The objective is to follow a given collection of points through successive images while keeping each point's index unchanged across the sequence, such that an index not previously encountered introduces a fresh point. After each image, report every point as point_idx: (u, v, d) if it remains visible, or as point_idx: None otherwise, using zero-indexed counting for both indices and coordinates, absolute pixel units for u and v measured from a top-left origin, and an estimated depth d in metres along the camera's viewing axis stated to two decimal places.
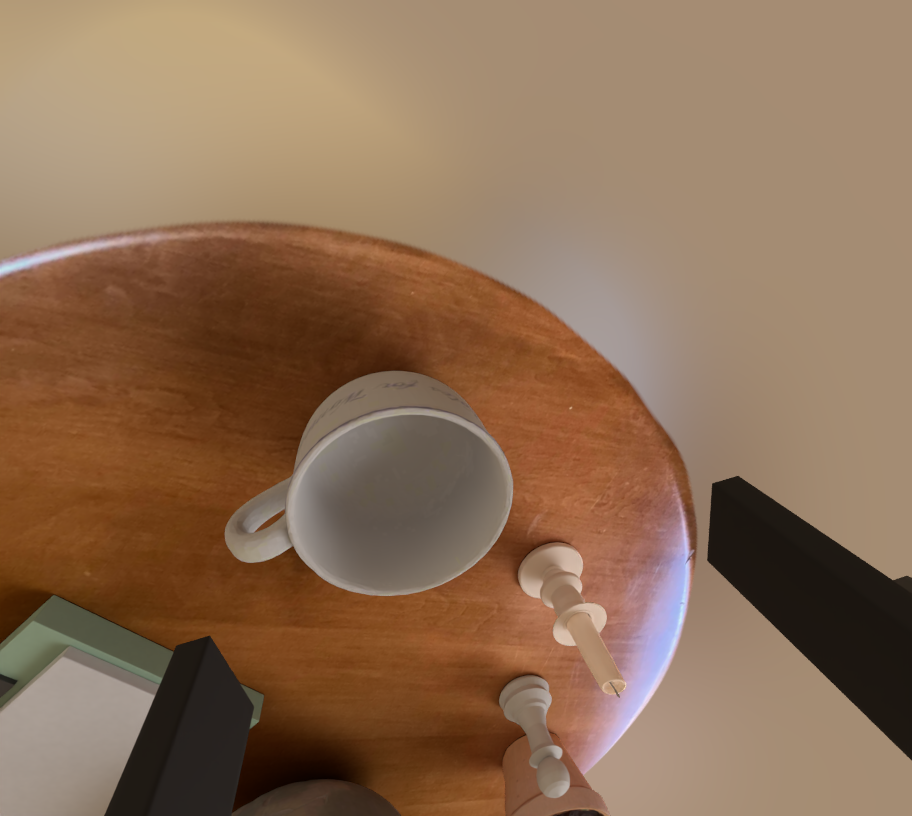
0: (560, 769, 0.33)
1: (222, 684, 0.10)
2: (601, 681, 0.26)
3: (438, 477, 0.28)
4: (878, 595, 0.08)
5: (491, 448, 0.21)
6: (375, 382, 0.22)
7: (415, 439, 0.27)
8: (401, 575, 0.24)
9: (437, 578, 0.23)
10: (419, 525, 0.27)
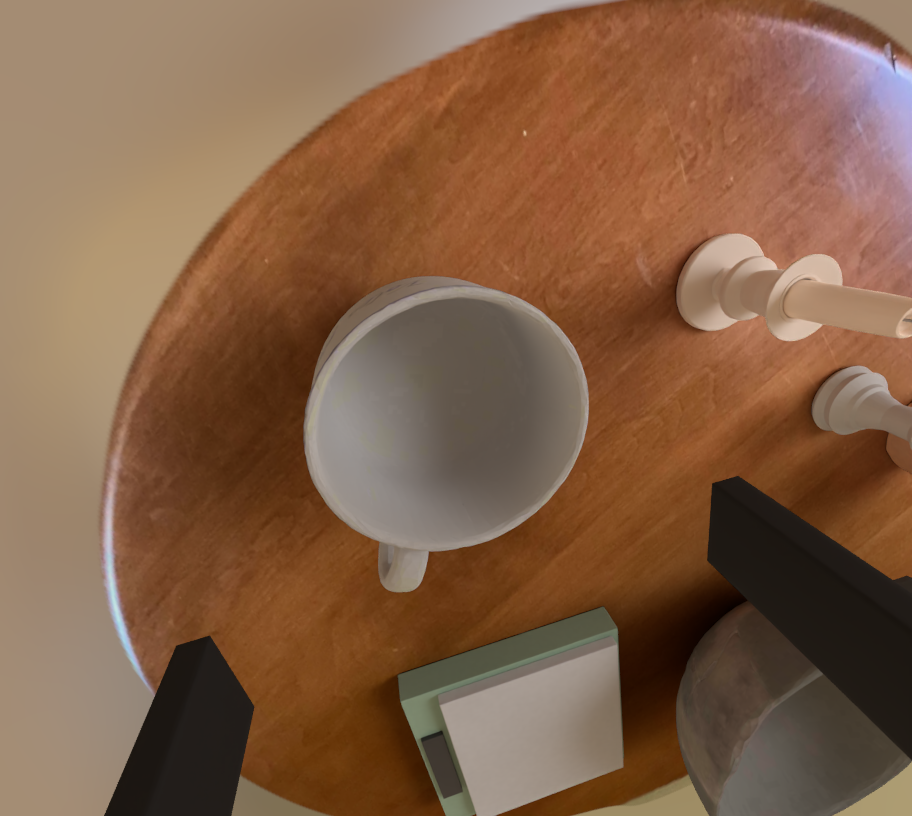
0: None
1: (222, 684, 0.10)
2: (888, 331, 0.16)
3: (495, 352, 0.22)
4: (878, 595, 0.08)
5: (441, 298, 0.14)
6: None
7: (435, 351, 0.22)
8: (545, 469, 0.19)
9: (573, 440, 0.18)
10: (526, 407, 0.22)
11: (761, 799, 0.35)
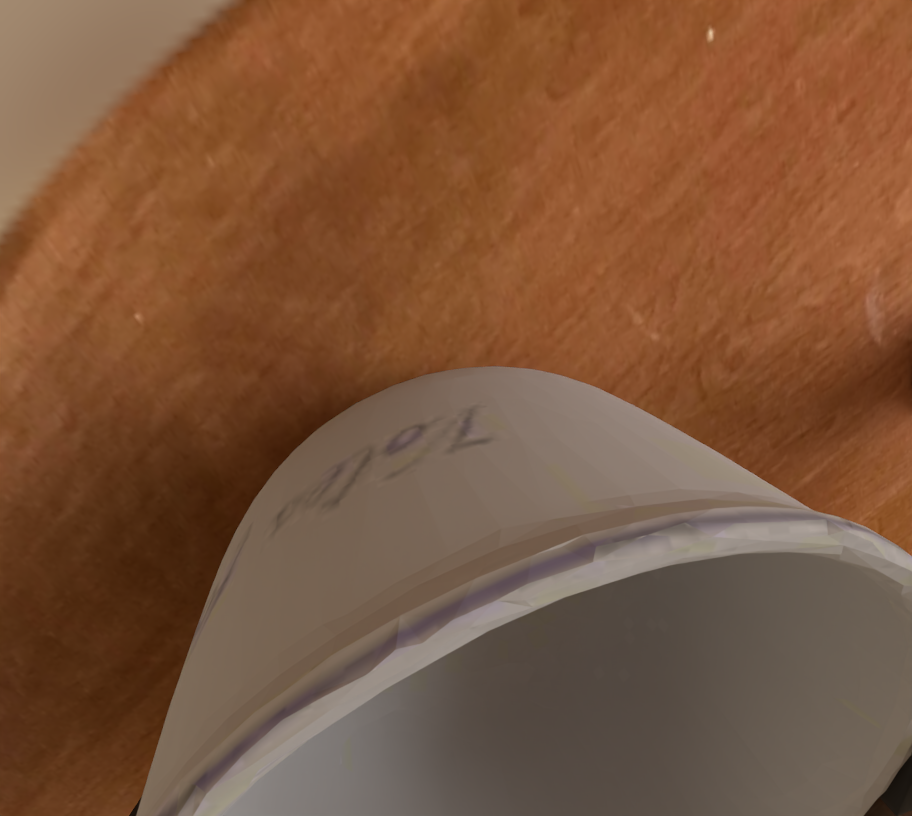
0: None
1: None
2: None
3: None
4: None
5: None
6: None
7: None
8: (751, 807, 0.08)
9: (853, 787, 0.07)
10: (663, 604, 0.11)
11: None
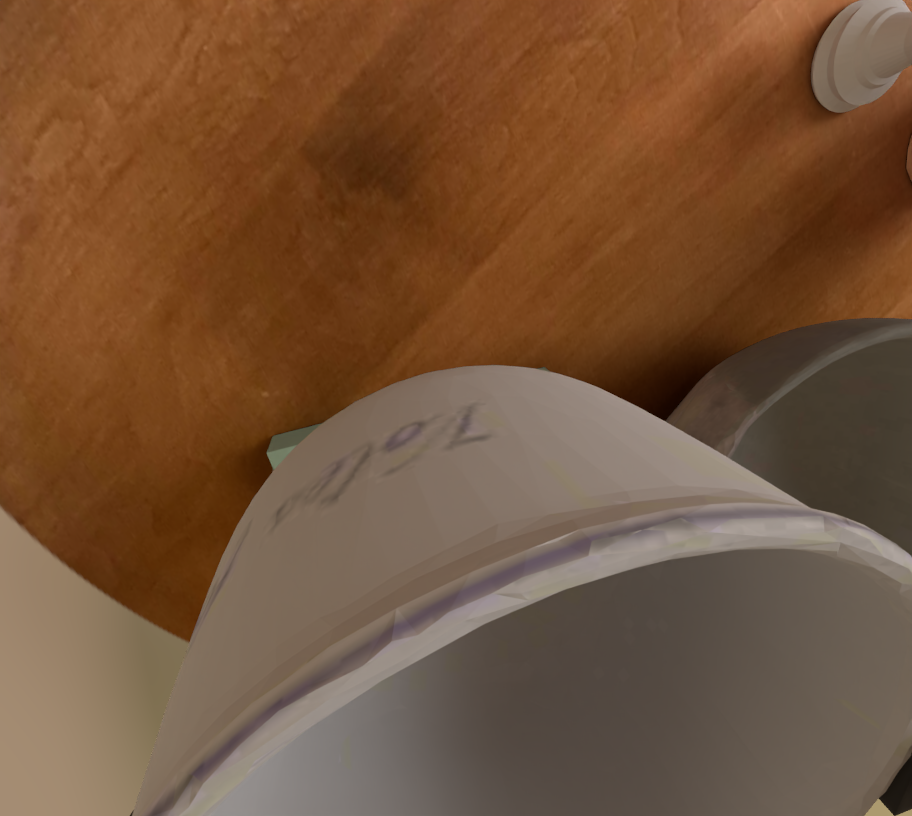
0: None
1: None
2: None
3: None
4: None
5: None
6: None
7: None
8: (750, 807, 0.08)
9: (853, 788, 0.07)
10: (663, 604, 0.11)
11: None
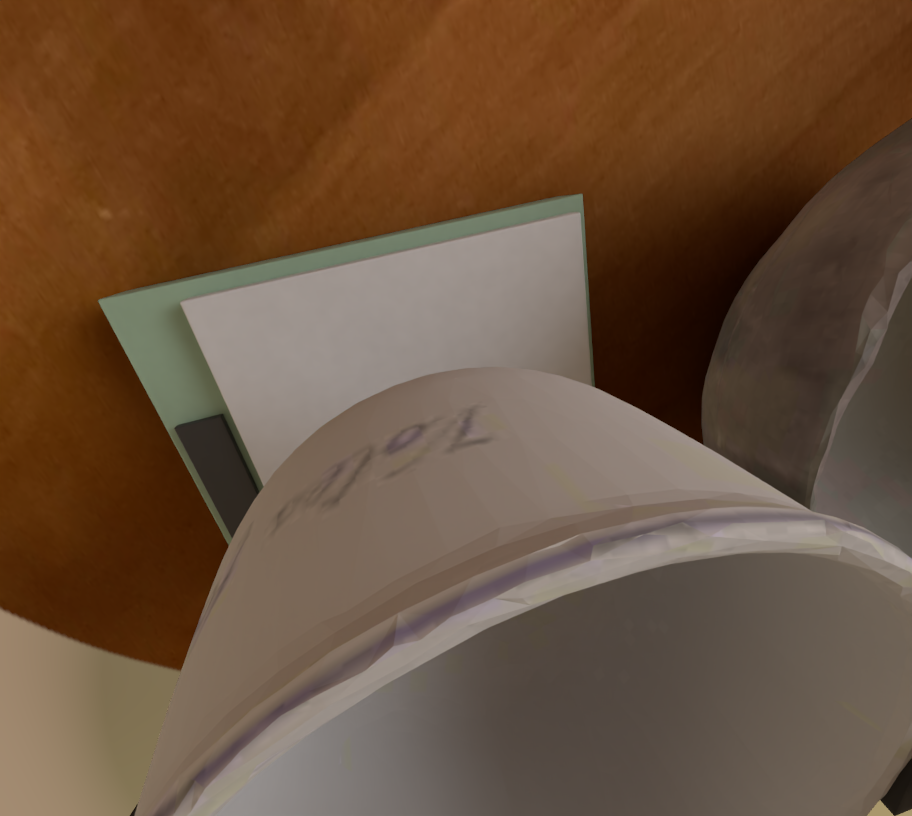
0: None
1: None
2: None
3: None
4: None
5: None
6: None
7: None
8: (751, 809, 0.08)
9: (853, 790, 0.07)
10: (663, 606, 0.11)
11: None
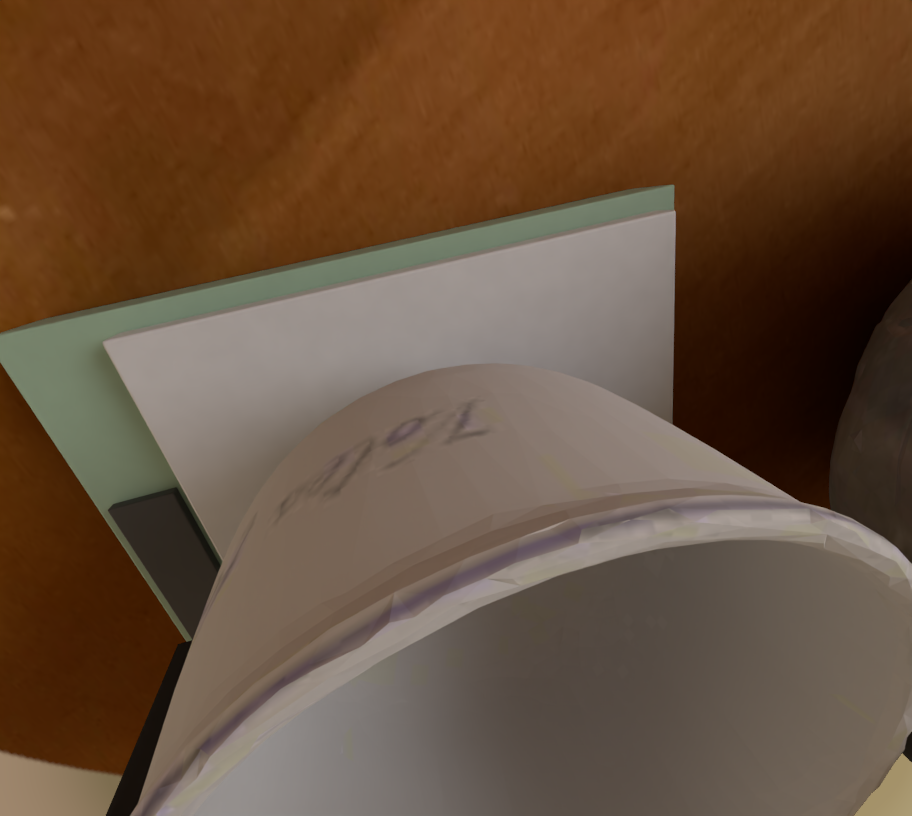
0: None
1: None
2: None
3: None
4: None
5: None
6: None
7: None
8: (746, 802, 0.08)
9: (847, 782, 0.07)
10: (662, 601, 0.11)
11: None
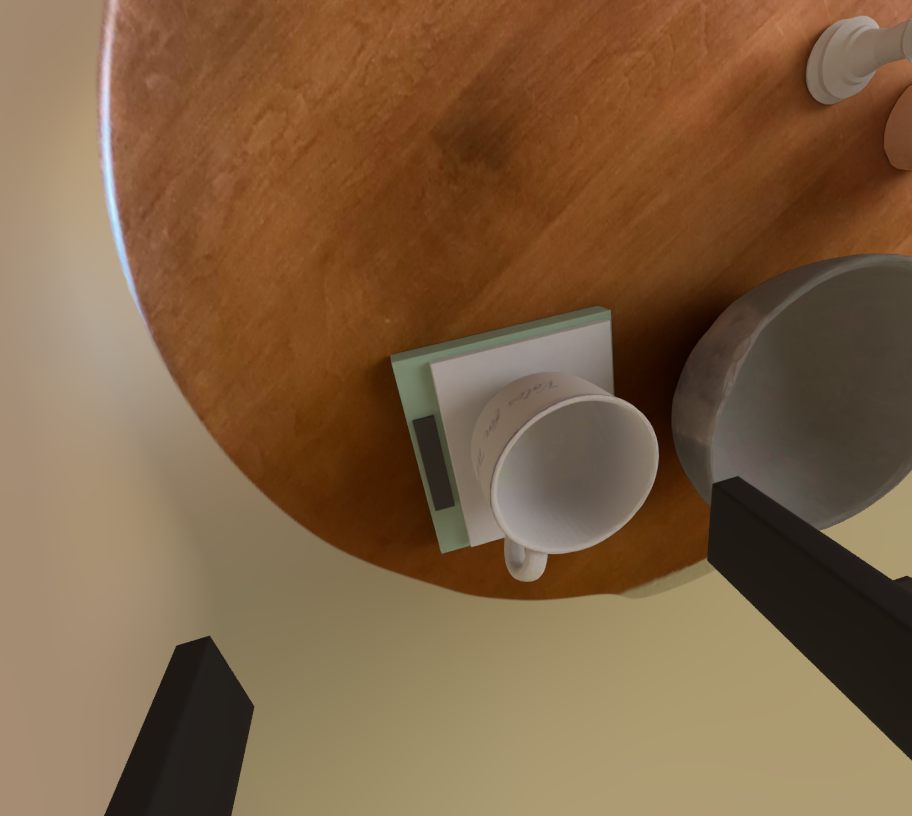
0: None
1: (222, 684, 0.10)
2: None
3: (583, 416, 0.32)
4: (878, 595, 0.08)
5: (578, 401, 0.24)
6: (480, 435, 0.28)
7: (543, 415, 0.32)
8: (625, 500, 0.29)
9: (646, 482, 0.28)
10: (606, 455, 0.32)
11: None
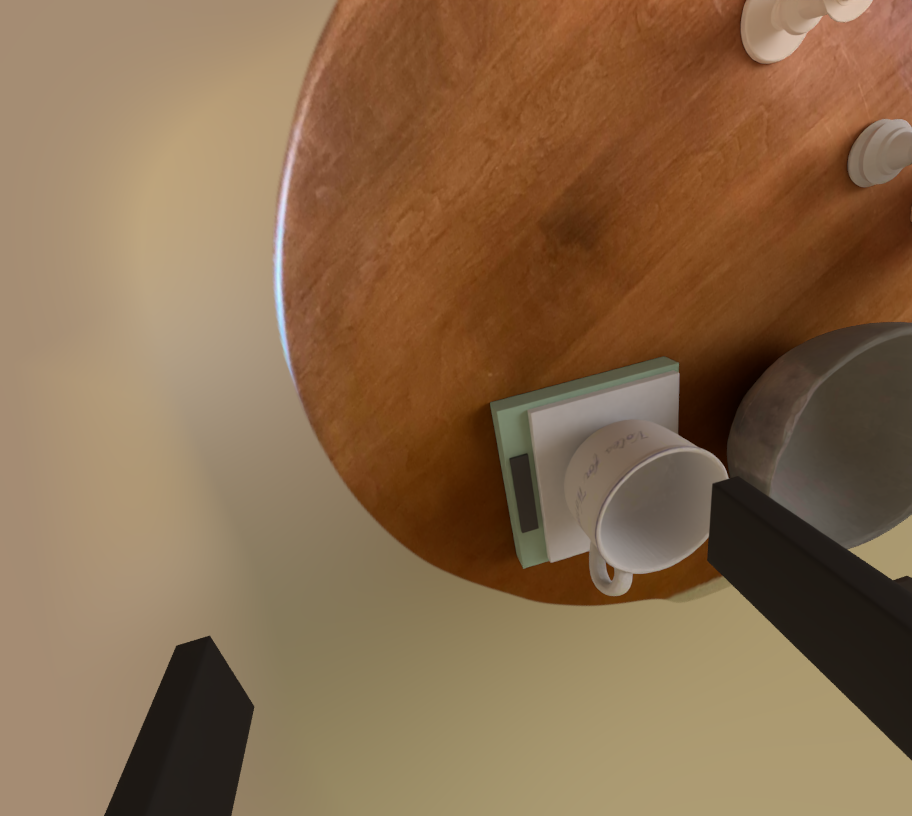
0: None
1: (222, 684, 0.10)
2: None
3: None
4: (878, 595, 0.08)
5: (670, 453, 0.30)
6: (579, 476, 0.33)
7: None
8: (696, 527, 0.34)
9: None
10: (675, 487, 0.37)
11: None
